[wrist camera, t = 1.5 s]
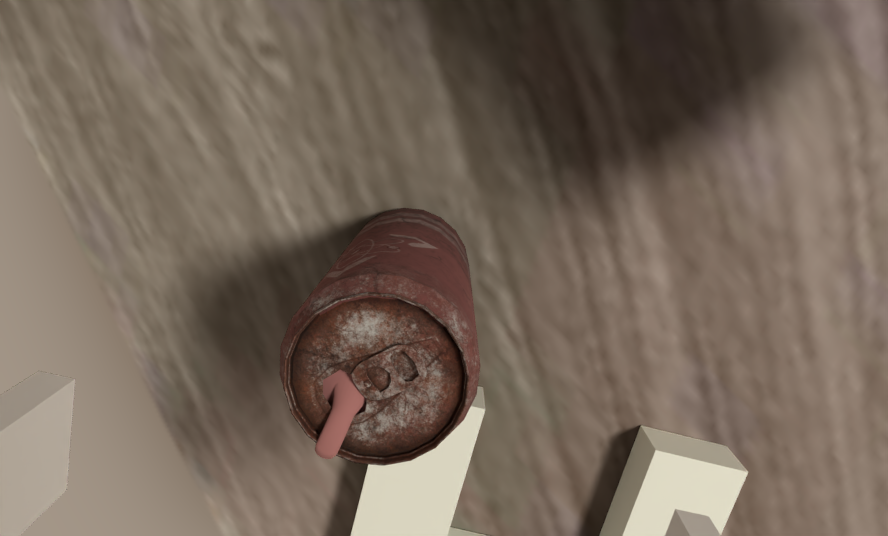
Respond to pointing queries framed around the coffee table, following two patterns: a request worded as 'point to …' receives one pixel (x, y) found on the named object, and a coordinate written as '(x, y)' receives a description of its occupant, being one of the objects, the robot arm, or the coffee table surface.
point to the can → (386, 344)
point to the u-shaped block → (630, 514)
